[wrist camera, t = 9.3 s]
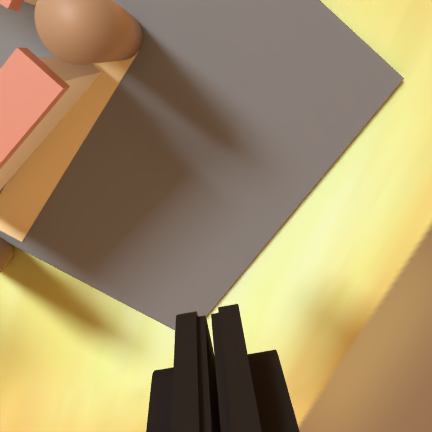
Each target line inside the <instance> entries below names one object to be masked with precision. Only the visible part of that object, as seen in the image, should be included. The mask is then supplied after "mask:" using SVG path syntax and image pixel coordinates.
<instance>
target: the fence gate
mask: <svg viewBox="0 0 432 432" xmlns="http://www.w3.org/2000/svg"><path fill="white" fill-rule="evenodd" d="M101 73H102V72H101V71H100V70H99V69H98V68H97V67H96V66H95V65H94V64H87V65H75V64H70V63H67V62H65V61H62V60H60V59H59V58H57V57H43V58H38V57H37V56H36V55H34V54H33V53H32V52H31V51H30V50H29V49H28V48H18V47H17V48H16V49H15V51H14V52H13V53H12V55H11V56H10V57H9V58H8V60H7V61H6V62H5V63H4V65H3V66H2V67H1V69H0V190H1V189H2V188H3V187H4V186H5V184H6V183H7V182H8V181H9V180H10V179H11V177H12V176H13V175H14V174H15V173H16V172H17V170H18V169H19V168H20V167H21V166H22V165H23V163H24V162H25V161H26V160H27V159H28V158H29V156H30V155H31V154H32V153H33V152H34V151H35V149H36V148H37V147H38V146H39V145H40V144H41V142H42V141H43V140H44V139H45V138H46V137H47V135H48V134H49V133H50V132H51V131H52V130H53V128H54V127H55V126H56V125H57V124H58V123H59V121H60V120H61V119H62V118H63V117H64V116H65V114H66V113H67V112H68V111H69V110H70V109H71V108H72V106H73V105H74V104H75V103H76V102H77V101H78V99H79V98H80V97H81V96H82V95H83V94H84V92H85V91H86V90H87V89H88V88H89V87H90V85H91V84H92V83H93V82H94V81H95V80H96V78H97V77H98V76H99V75H100V74H101Z"/></svg>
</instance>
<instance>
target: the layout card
mask: <svg viewBox="0 0 432 432" xmlns="http://www.w3.org/2000/svg"><path fill="white" fill-rule="evenodd" d="M113 1H114V2H116V3H117V4H118V5H120V6H121V7H122V8H123V9H125V10H126V11H127V12H128V13H130V14H131V15H132V16H133V17H135V19H136V20H137V21H138V22H139V24H140V26H141V29H142V33H143V42H142V46H141V48H140V50H139V51H138V53H137V54H136V55H135V56H133V57H132V58H130V59H127V60H120V61H112V62H104V63H95V64H94V65H95V66H96V67H97V68H98V69H99V70H100V71H101V72H102V73H101V74H100V75H99V76H98V77H97V78H96V80H95V81H94V82H93V83H92V84H91V85H90V87H89V88H88V89H87V90H86V91H85V92H84V94H83V95H82V96H81V97H80V98H79V99H78V101H77V102H76V103H75V104H74V105H73V106H72V108H71V109H70V110H69V111H68V112H67V113H66V114H65V116H64V117H63V118H62V119H61V120H60V121H59V123H58V124H57V125H56V126H55V127H54V128H53V130H52V131H51V132H50V133H49V134H48V135H47V137H46V138H45V139H44V140H43V141H42V142H41V144H40V145H39V146H38V147H37V148H36V149H35V151H34V152H33V153H32V154H31V155H30V156H29V158H28V159H27V160H26V161H25V162H24V163H23V165H22V166H21V167H20V168H19V169H18V170H17V172H16V173H15V174H14V175H13V176H12V177H11V179H10V180H9V181H8V182H7V183H6V184H5V186H4V187H3V188H2V189H1V190H0V237H1V238H3V239H4V240H6V241H7V242H8V243H10V244H12V245H14V246H15V247H17V248H19V249H21V250H23V251H25V252H27V253H29V254H31V255H33V256H34V257H36V258H38V259H40V260H42V261H44V262H46V263H48V264H50V265H52V266H54V267H55V268H57V269H59V270H61V271H63V272H65V273H67V274H69V275H71V276H73V277H74V278H76V279H78V280H80V281H82V282H84V283H86V284H88V285H90V286H92V287H93V288H95V289H97V290H99V291H101V292H103V293H105V294H107V295H109V296H111V297H113V298H114V299H116V300H118V301H120V302H122V303H124V304H126V305H128V306H130V307H132V308H133V309H135V310H137V311H139V312H141V313H143V314H145V315H147V316H149V317H151V318H153V319H154V320H156V321H158V322H160V323H162V324H164V325H166V326H168V327H170V328H172V329H173V330H175V326H176V315H178V314H183V313H189V312H195V311H197V313H198V316H204V315H205V316H207V315H208V313H209V312H210V311H211V310H212V309H213V307H214V306H215V305H216V304H217V303H218V301H219V300H220V299H221V298H222V297H223V295H224V294H225V293H226V292H227V291H228V289H229V288H230V287H231V286H232V285H233V283H234V282H235V281H236V280H237V279H238V277H239V276H240V275H241V274H242V273H243V271H244V270H245V269H246V268H247V267H248V265H249V264H250V263H251V262H252V261H253V259H254V258H255V257H256V256H257V255H258V253H259V252H260V251H261V250H262V249H263V247H264V246H265V245H266V244H267V242H268V241H269V240H270V239H271V238H272V236H273V235H274V234H275V233H276V232H277V230H278V229H279V228H280V227H281V226H282V224H283V223H284V222H285V221H286V220H287V218H288V217H289V216H290V215H291V214H292V212H293V211H294V210H295V209H296V208H297V206H298V205H299V204H300V203H301V202H302V200H303V199H304V198H305V197H306V196H307V194H308V193H309V192H310V191H311V190H312V188H313V187H314V186H315V185H316V184H317V182H318V181H319V180H320V179H321V178H322V176H323V175H324V174H325V173H326V172H327V170H328V169H329V168H330V167H331V165H332V164H333V163H334V162H335V161H336V159H337V158H338V157H339V156H340V155H341V153H342V152H343V151H344V150H345V149H346V147H347V146H348V145H349V144H350V143H351V141H352V140H353V139H354V138H355V137H356V135H357V134H358V133H359V132H360V131H361V129H362V128H363V127H364V126H365V125H366V123H367V122H368V121H369V120H370V119H371V117H372V116H373V115H374V114H375V113H376V111H377V110H378V109H379V108H380V107H381V105H382V104H383V103H384V102H385V101H386V99H387V98H388V97H389V96H390V95H391V93H392V92H393V91H394V90H395V89H396V87H397V86H398V85H399V84H400V82H401V81H402V80H403V79H404V78H403V77H402V76H401V75H400V74H399V73H398V72H396V71H395V70H394V69H393V68H392V67H391V66H390V65H389V64H388V63H387V62H386V61H385V60H384V59H382V58H381V57H380V56H379V55H378V54H377V53H376V52H375V51H374V50H373V49H372V48H371V47H369V46H368V45H367V44H366V43H365V42H364V41H363V40H362V39H361V38H360V37H359V36H358V35H356V34H355V33H354V32H353V31H352V30H351V29H350V28H349V27H348V26H347V25H346V24H345V23H343V22H342V21H341V20H340V19H339V18H338V17H337V16H336V15H335V14H334V13H333V12H332V11H331V10H329V9H328V8H327V7H326V6H325V5H324V4H323V3H322V2H321V1H320V0H113ZM35 6H36V5H33V4H30V3H27V2H23V4H22V5H21V7H20V9H19V11H14V10H10V9H7V8H6V7H4V6H3V5H1V4H0V69H1V67H2V66H3V65H4V63H5V62H6V61H7V60H8V58H9V57H10V56H11V55H12V53H13V52H14V51H15V49H16V48H17V47H18V48H28V49H29V50H30V51H31V52H32V53H33V54H34V55H36V56H37V57H38V58H43V57H56V56H54V55H53V54H52V53H51V52H50V51H49V50H48V49H47V48H46V47H45V45H44V44H43V42H42V41H41V39H40V37H39V35H38V32H37V29H36V25H35V18H34V17H35Z"/></svg>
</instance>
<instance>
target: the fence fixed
mask: <svg viewBox="0 0 432 432" xmlns="http://www.w3.org/2000/svg"><path fill="white" fill-rule="evenodd" d="M23 2H27V3H30V4H33V5H36V6H35V17H34V18H35V25H36V29H37V32H38V35H39V37H40V39H41V41H42V42H43V44H44V45H45V47H46V48H47V49H48V50H49V51H50V52H51V53H52V54H53V55H54V56H56V57H57V58H59V59H60V60H62V61H65V62H67V63H70V64H75V65H87V64H95V63H104V62H112V61H120V60H127V59H130V58H132V57H133V56H135V55H136V54H137V53H138V51H139V50H140V48H141V46H142V42H143V33H142V29H141V26H140V24H139V22H138V21H137V20H136V19H135V17H133V16H132V15H131V14H130V13H128V12H127V11H126V10H125V9H123V8H122V7H121V6H120V5H118V4H117V3H116V2H114V1H113V0H0V4H1V5H3V6H4V7H6V8H7V9H10V10H14V11H19V9H20V7H21V5H22V4H23ZM13 255H14V247H13V245H12V244H10V243H8V242H7V241H6V240H4V239H3V238H1V237H0V273H1V272H2V270H3V269H4V268H5V267H6V265H7V264H8V263H9V262H10V261H11V259H12V258H13Z"/></svg>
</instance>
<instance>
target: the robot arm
mask: <svg viewBox="0 0 432 432" xmlns="http://www.w3.org/2000/svg"><path fill="white" fill-rule="evenodd" d="M218 310H219V313H216V314H211V318H212V330H213V342H214V352H213V347H212V342H211V338H210V333H209V329H208V324H207V320H206V316H205V315H204V316H198V313H197V311H195V312H189V313H183V314H178V315H176V326H175V349H174V367H173V368H167V369H161V370H156V371H154V372H153V375H152V383H151V392H150V402H149V411H148V421H147V430H146V432H299V428H298V425H297V421H296V418H295V414H294V410H293V407H292V403H291V400H290V396H289V393H288V389H287V385H286V382H285V378H284V375H283V371H282V368H281V364H280V360H279V357H278V354H277V351H276V350H271V351H265V352H260V353H254V354H248V355H247V350H246V344H245V339H244V333H243V328H242V322H241V317H240V312H239V306H238V304H235V305H229V306H223V307H218ZM214 354H215V356H214Z"/></svg>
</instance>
